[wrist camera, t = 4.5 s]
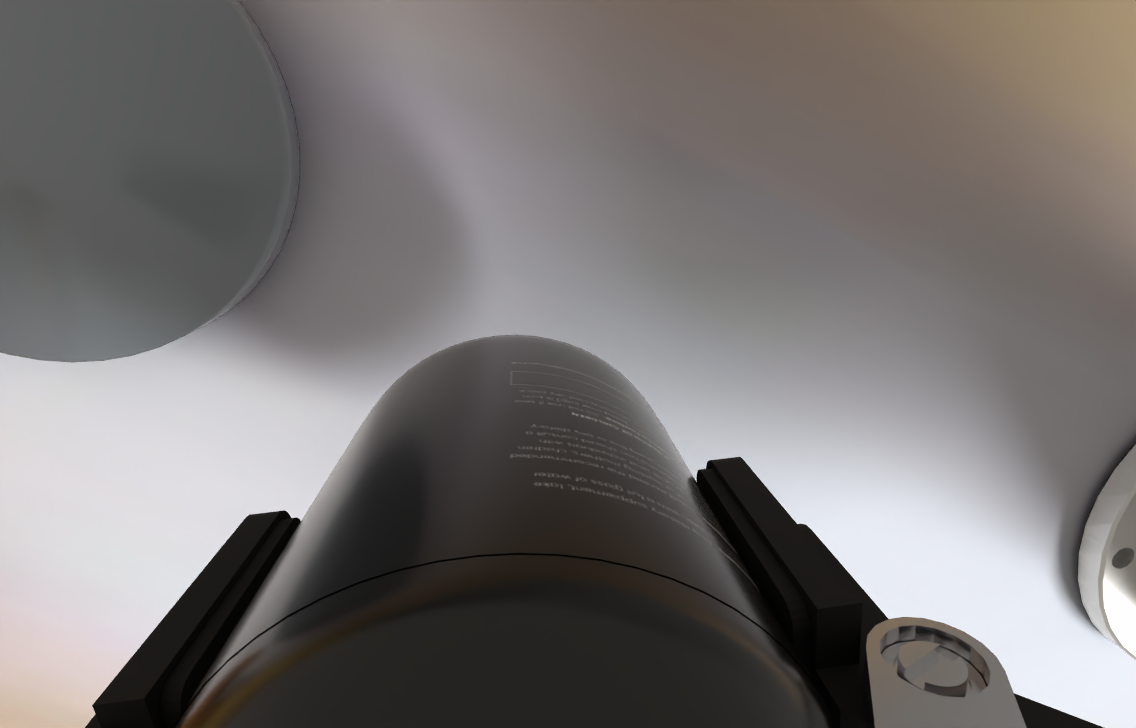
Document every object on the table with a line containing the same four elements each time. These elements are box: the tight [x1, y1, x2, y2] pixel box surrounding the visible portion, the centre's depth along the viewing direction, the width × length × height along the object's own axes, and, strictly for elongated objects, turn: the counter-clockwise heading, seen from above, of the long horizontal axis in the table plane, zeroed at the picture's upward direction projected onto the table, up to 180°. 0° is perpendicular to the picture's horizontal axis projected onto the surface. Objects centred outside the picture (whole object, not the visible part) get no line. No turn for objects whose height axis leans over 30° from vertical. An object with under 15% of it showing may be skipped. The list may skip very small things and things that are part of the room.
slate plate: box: [0, 0, 300, 362], centre depth 15 cm, size 11×11×2 cm
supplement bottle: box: [174, 335, 838, 728], centre depth 8 cm, size 7×7×12 cm
